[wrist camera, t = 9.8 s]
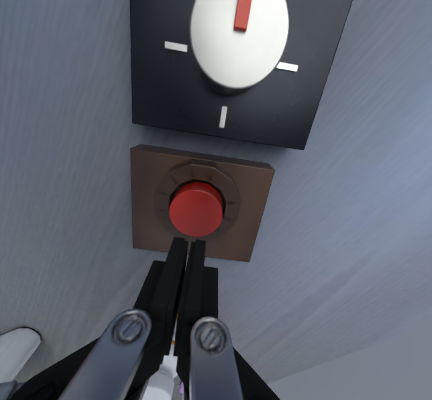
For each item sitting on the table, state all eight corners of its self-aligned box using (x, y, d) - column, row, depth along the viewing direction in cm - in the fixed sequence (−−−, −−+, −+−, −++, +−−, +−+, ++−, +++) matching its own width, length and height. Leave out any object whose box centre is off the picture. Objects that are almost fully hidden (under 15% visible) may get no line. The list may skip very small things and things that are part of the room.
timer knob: (257, 100, 14) (276, 96, 9) (194, 89, 14) (183, 79, 9) (274, 20, 12) (307, -31, 8) (202, 6, 12) (193, -56, 7)
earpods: (191, 376, 36) (198, 381, 35) (189, 387, 36) (195, 393, 34) (179, 378, 34) (185, 383, 33) (176, 390, 34) (182, 395, 33)
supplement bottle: (156, 317, 28) (127, 415, 19) (146, 288, 25) (108, 384, 17) (194, 314, 27) (183, 412, 18) (188, 285, 25) (172, 381, 16)
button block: (140, 235, 22) (125, 260, 18) (139, 143, 18) (120, 152, 14) (246, 249, 23) (252, 275, 19) (269, 163, 19) (281, 176, 15)
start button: (172, 222, 17) (167, 233, 16) (175, 178, 16) (170, 186, 14) (218, 228, 17) (218, 240, 16) (225, 185, 16) (226, 194, 14)
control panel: (145, 121, 17) (131, 123, 14) (146, -39, 13) (126, -81, 10) (290, 144, 18) (305, 150, 15) (333, -1, 14) (364, -31, 11)
